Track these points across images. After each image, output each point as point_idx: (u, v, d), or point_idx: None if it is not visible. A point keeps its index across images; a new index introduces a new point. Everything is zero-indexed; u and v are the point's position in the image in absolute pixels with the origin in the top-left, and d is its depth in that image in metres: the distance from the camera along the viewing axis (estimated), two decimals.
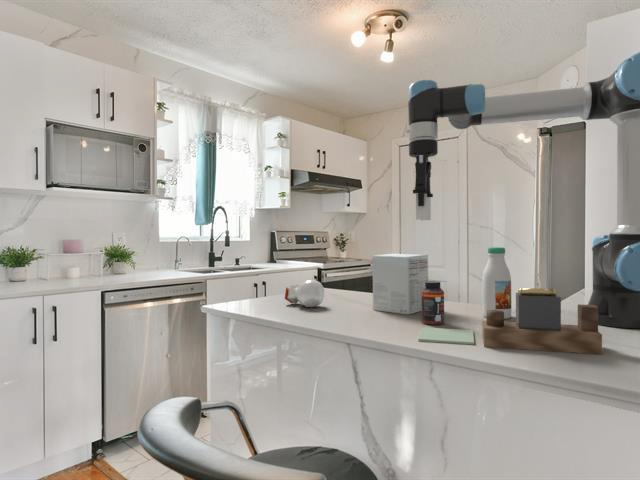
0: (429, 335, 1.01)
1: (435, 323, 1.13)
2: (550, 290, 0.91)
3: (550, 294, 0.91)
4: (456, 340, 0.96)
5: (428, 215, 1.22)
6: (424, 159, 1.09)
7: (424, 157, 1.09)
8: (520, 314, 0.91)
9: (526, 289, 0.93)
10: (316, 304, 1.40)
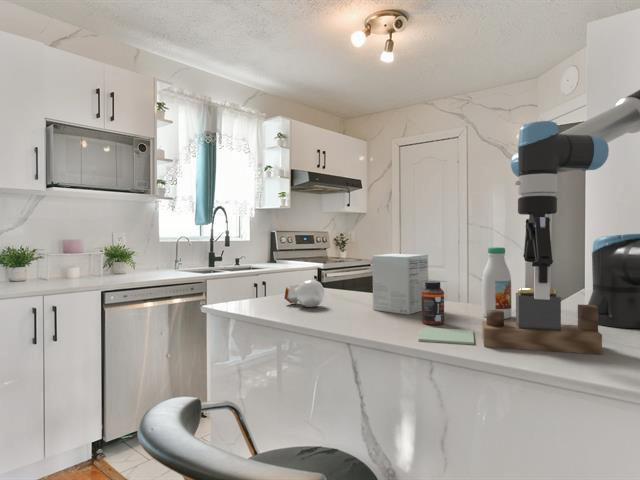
0: (429, 335, 1.01)
1: (435, 323, 1.13)
2: (550, 290, 0.91)
3: (550, 294, 0.91)
4: (456, 340, 0.96)
5: None
6: (547, 223, 0.85)
7: (547, 220, 0.85)
8: (520, 314, 0.91)
9: (526, 289, 0.93)
10: (316, 304, 1.40)
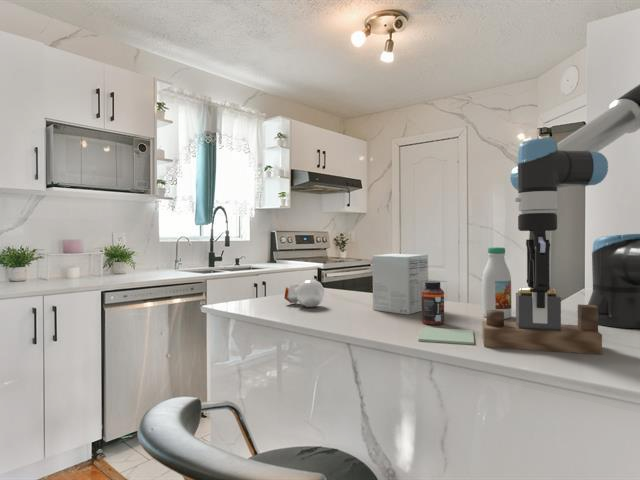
0: (429, 335, 1.01)
1: (435, 323, 1.13)
2: (550, 290, 0.91)
3: (550, 294, 0.91)
4: (456, 340, 0.96)
5: None
6: (547, 249, 0.86)
7: (547, 247, 0.86)
8: (520, 314, 0.91)
9: (526, 289, 0.93)
10: (316, 304, 1.40)
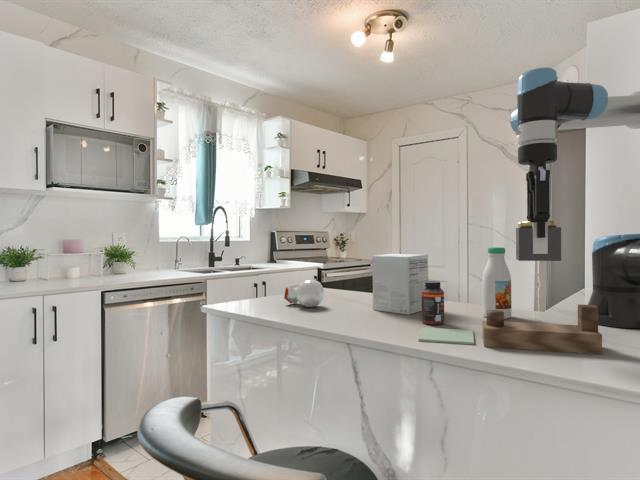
0: (429, 335, 1.01)
1: (435, 323, 1.13)
2: (550, 222, 0.91)
3: (550, 226, 0.91)
4: (456, 340, 0.96)
5: None
6: (547, 176, 0.86)
7: (547, 174, 0.85)
8: (520, 246, 0.91)
9: (526, 222, 0.92)
10: (315, 304, 1.40)
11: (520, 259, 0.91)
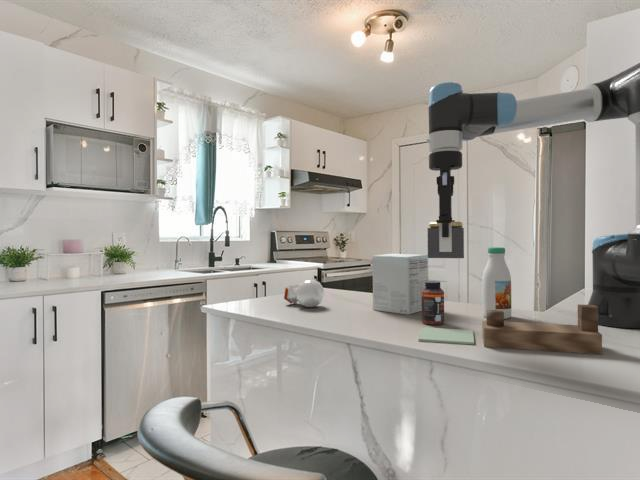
0: (429, 335, 1.01)
1: (435, 323, 1.13)
2: (456, 222, 1.00)
3: (456, 226, 1.00)
4: (456, 340, 0.96)
5: None
6: (448, 182, 0.94)
7: (448, 179, 0.94)
8: (429, 244, 1.00)
9: (435, 223, 1.01)
10: (315, 304, 1.40)
11: (429, 256, 1.00)
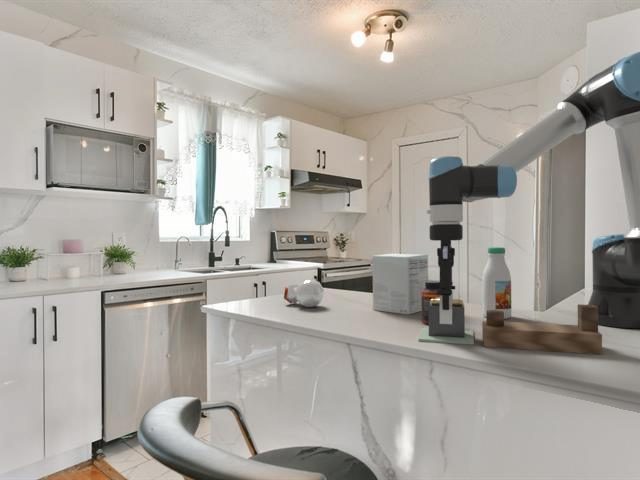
0: None
1: None
2: (457, 301, 1.00)
3: (456, 304, 1.00)
4: (456, 340, 0.96)
5: None
6: (449, 255, 0.95)
7: (449, 253, 0.94)
8: (430, 322, 1.00)
9: (436, 300, 1.02)
10: (315, 304, 1.40)
11: (429, 334, 1.00)
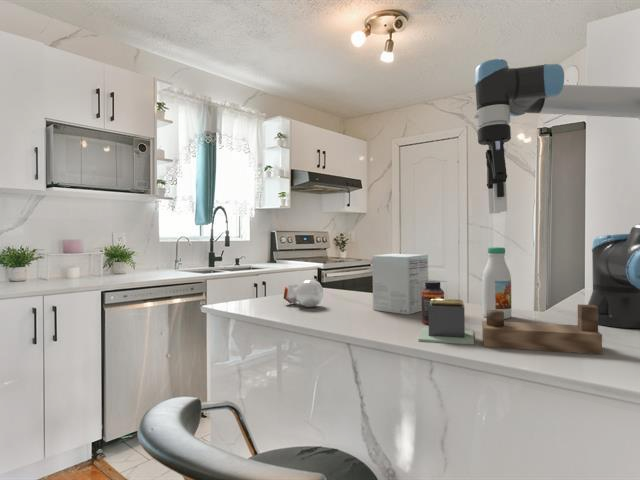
0: None
1: None
2: (457, 301, 1.00)
3: (456, 304, 1.00)
4: (456, 340, 0.96)
5: None
6: (501, 145, 0.99)
7: (501, 143, 0.99)
8: (430, 322, 1.00)
9: (436, 300, 1.02)
10: (315, 304, 1.40)
11: (429, 334, 1.00)
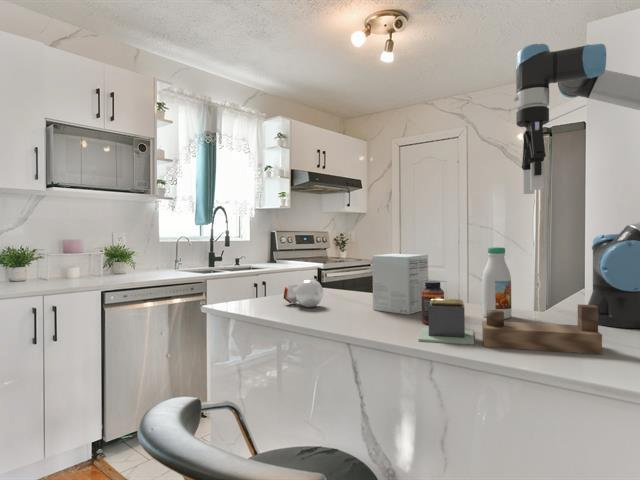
0: None
1: None
2: (457, 301, 1.00)
3: (456, 304, 1.00)
4: (456, 340, 0.96)
5: None
6: (541, 126, 1.03)
7: (540, 124, 1.03)
8: (430, 322, 1.00)
9: (436, 300, 1.02)
10: (315, 304, 1.40)
11: (429, 334, 1.00)
